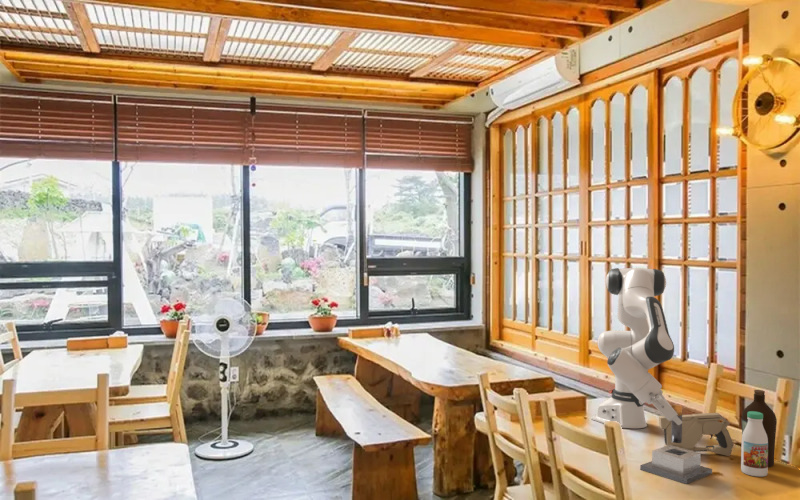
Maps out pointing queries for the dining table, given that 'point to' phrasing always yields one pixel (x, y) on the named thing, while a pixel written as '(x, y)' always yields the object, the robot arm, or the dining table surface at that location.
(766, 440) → the milk bottle
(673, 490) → the dining table surface
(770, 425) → the olive oil
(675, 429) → the battery
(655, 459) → the block
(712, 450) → the gun
